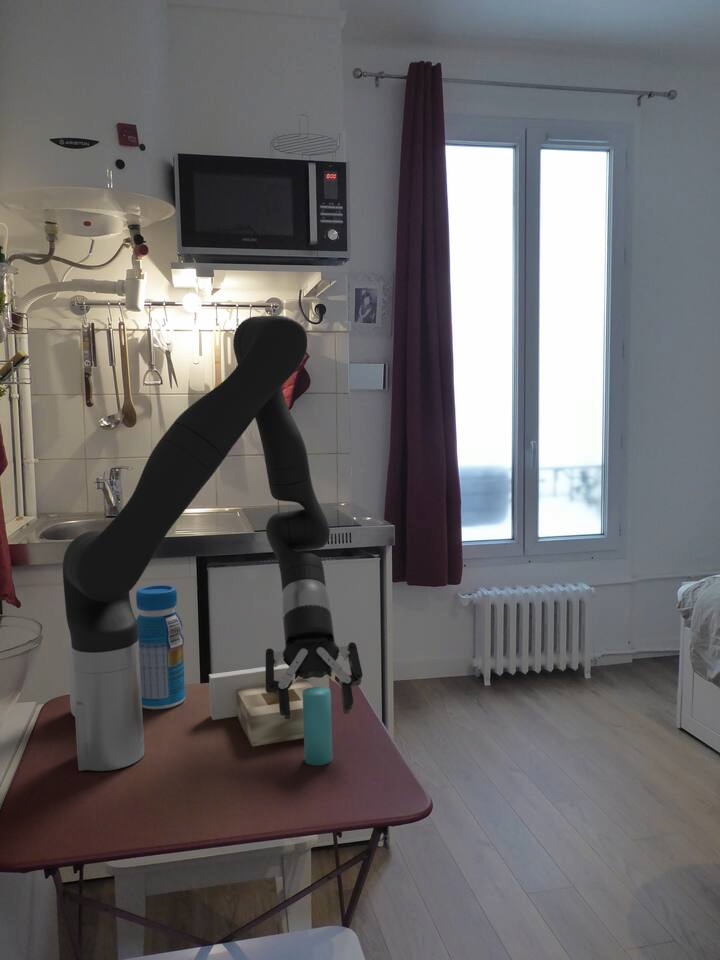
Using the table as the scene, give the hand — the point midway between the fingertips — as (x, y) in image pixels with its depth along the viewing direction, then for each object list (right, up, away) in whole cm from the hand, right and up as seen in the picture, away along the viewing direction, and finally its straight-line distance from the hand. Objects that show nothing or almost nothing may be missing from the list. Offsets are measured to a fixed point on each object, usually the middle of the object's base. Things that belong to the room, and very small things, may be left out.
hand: (317, 714), depth 113 cm
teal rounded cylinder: (0, -7, 0) cm, 7 cm away
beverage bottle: (-28, -5, +24) cm, 38 cm away
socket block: (-6, -6, +13) cm, 15 cm away
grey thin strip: (-39, -6, +20) cm, 44 cm away
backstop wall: (-9, -5, +20) cm, 22 cm away
